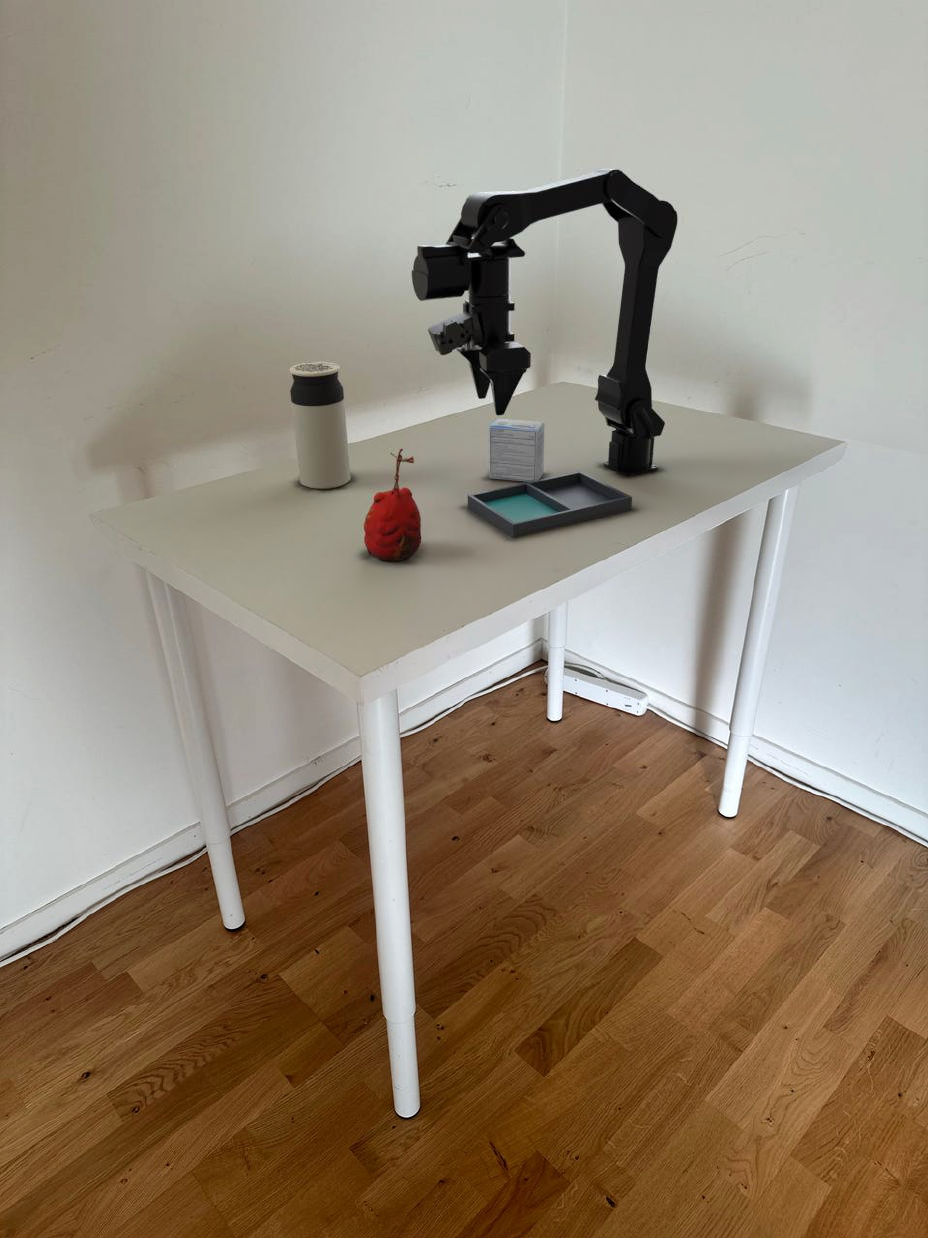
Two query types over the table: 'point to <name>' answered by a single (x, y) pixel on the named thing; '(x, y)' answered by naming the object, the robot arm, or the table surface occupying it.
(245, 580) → the table surface
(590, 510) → the organiser tray
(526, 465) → the medicine box
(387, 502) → the red lumpy rounded piece
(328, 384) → the travel mug
